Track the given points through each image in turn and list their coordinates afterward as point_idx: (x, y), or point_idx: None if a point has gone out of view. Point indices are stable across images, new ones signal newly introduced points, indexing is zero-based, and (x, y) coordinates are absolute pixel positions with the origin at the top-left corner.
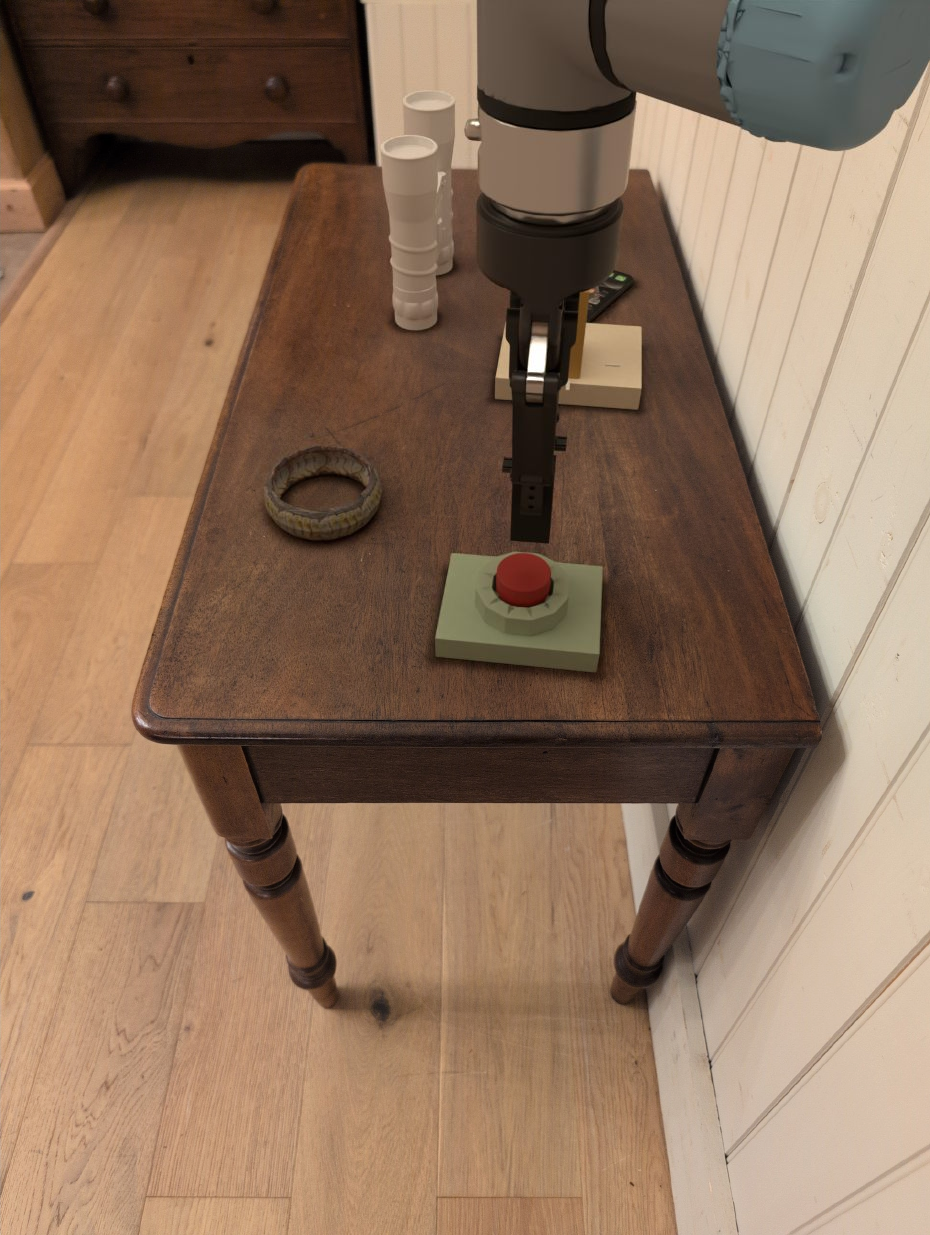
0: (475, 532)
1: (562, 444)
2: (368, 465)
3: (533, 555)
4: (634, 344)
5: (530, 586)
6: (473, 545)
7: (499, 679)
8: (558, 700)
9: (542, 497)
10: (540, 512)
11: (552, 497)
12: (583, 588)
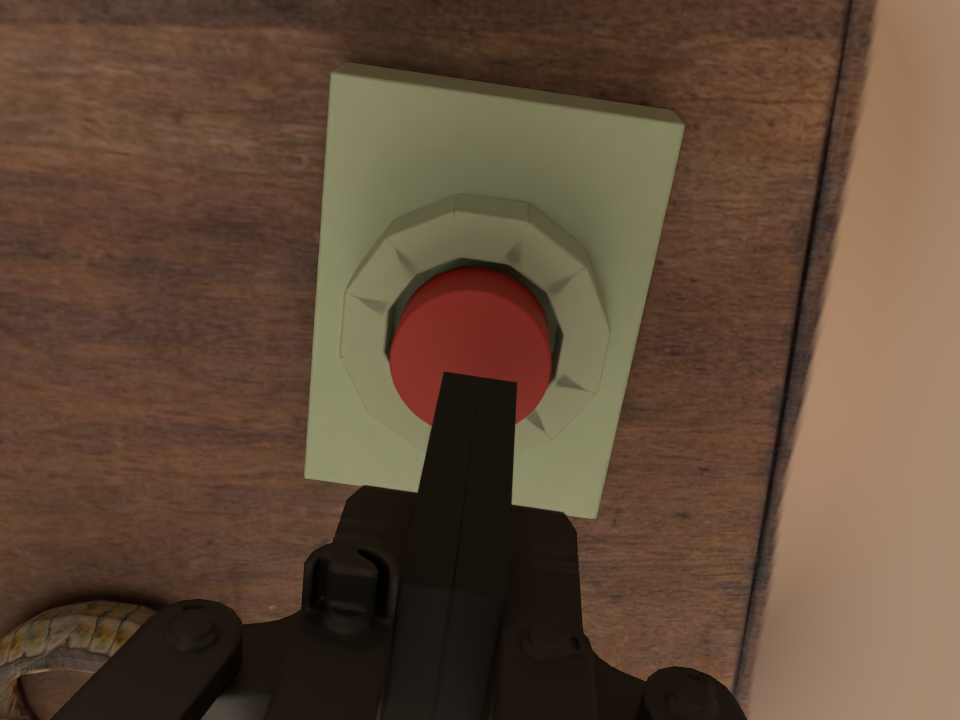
0: (168, 384)
1: (372, 589)
2: (25, 674)
3: (402, 335)
4: None
5: (532, 353)
6: (218, 390)
7: (669, 350)
8: (750, 217)
9: (579, 579)
10: (573, 531)
11: (511, 500)
12: (429, 144)
